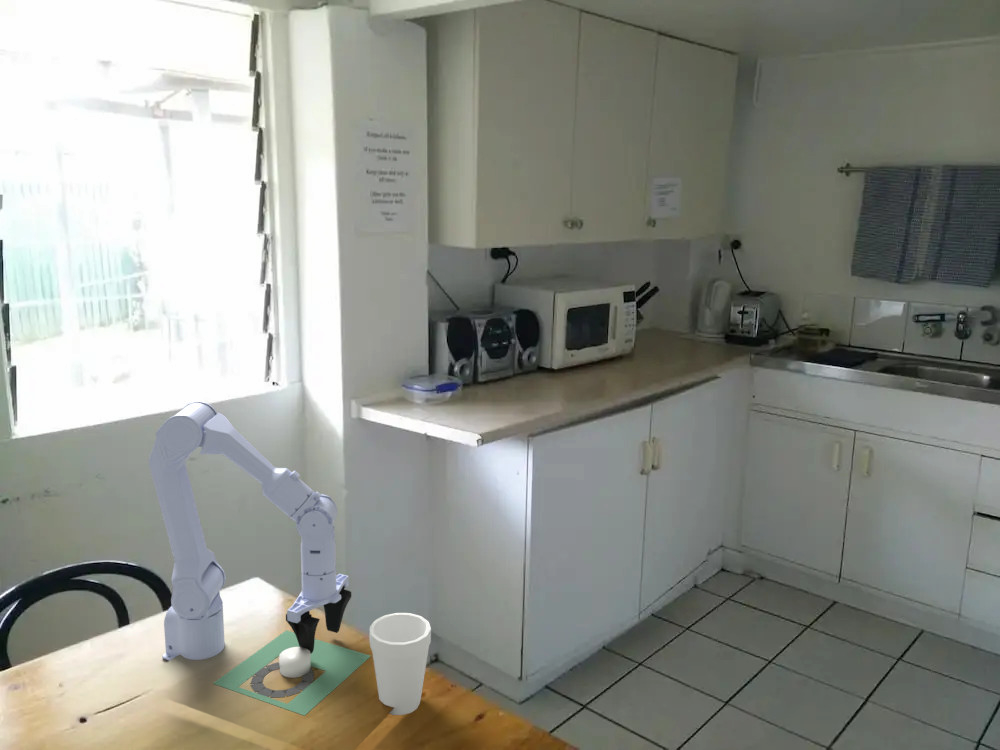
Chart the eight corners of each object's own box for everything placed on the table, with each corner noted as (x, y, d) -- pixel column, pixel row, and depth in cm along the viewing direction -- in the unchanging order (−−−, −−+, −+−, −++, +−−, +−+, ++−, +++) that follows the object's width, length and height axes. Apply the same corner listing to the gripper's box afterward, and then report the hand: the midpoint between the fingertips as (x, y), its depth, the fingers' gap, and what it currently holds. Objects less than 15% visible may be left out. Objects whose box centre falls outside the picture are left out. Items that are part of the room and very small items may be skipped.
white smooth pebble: (273, 672, 131) (272, 658, 130) (293, 657, 135) (292, 643, 135) (297, 680, 129) (297, 667, 128) (317, 665, 133) (316, 651, 133)
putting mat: (213, 691, 128) (212, 683, 128) (286, 637, 144) (286, 630, 144) (304, 724, 121) (304, 715, 120) (371, 663, 137) (371, 655, 137)
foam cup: (419, 725, 121) (419, 648, 118) (361, 716, 123) (360, 640, 120) (436, 689, 130) (437, 616, 127) (382, 681, 132) (382, 609, 129)
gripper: (311, 591, 127) (313, 668, 130) (362, 556, 140) (363, 626, 143) (275, 582, 130) (278, 657, 133) (329, 548, 143) (330, 617, 146)
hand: (320, 641), depth 138 cm, fingers open, 7 cm apart
